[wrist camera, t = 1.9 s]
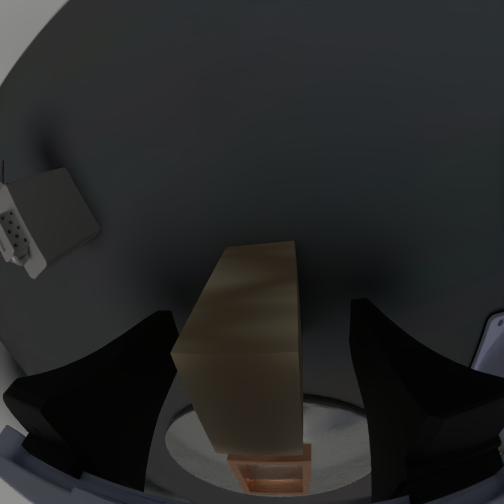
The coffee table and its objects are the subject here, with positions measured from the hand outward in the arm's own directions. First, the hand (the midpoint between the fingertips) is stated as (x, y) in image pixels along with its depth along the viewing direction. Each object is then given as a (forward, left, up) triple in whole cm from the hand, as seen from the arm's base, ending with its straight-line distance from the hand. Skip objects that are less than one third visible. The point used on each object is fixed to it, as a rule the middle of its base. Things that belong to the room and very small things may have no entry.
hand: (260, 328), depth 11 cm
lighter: (+10, -7, -3) cm, 12 cm away
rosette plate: (+1, +16, -3) cm, 16 cm away
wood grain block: (0, 0, -3) cm, 3 cm away
